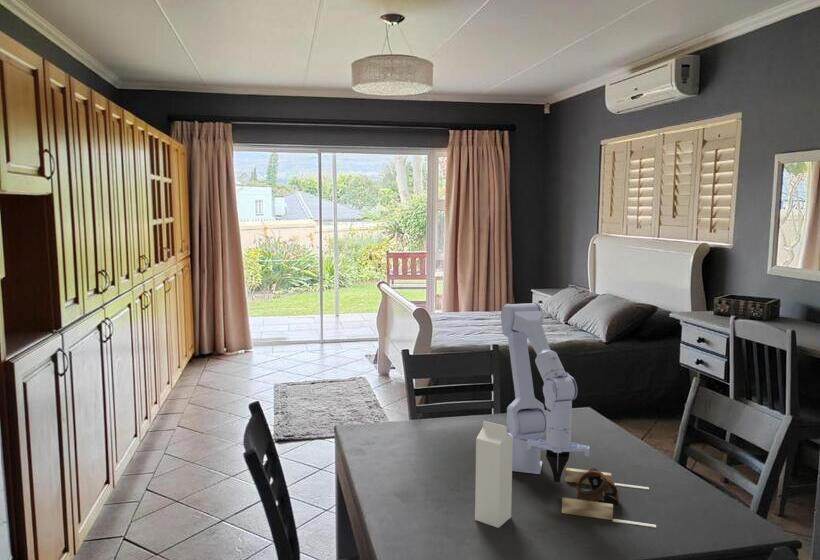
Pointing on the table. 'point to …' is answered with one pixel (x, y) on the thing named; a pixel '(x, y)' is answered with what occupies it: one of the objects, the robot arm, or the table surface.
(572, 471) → the cradle
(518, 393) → the robot arm
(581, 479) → the pottery mug
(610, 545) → the table surface
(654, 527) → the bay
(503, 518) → the milk
